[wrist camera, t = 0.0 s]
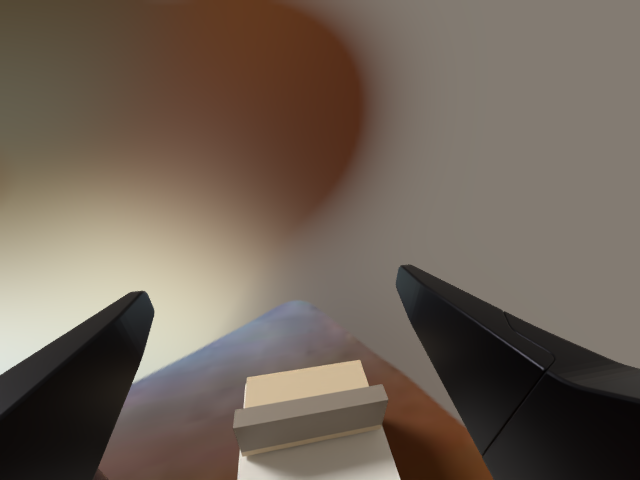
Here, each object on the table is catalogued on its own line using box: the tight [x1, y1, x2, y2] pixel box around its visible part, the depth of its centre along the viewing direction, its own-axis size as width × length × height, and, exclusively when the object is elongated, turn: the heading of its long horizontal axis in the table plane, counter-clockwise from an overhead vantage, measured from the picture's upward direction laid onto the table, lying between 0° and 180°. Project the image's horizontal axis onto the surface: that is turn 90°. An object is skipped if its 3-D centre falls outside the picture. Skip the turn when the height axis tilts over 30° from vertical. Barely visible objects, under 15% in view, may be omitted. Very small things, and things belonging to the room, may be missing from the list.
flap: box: [233, 360, 388, 457], centre depth 15 cm, size 4×8×3 cm, turn 100°
